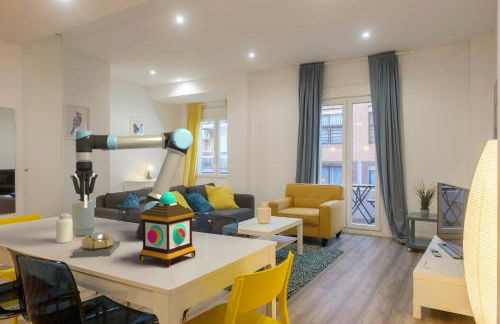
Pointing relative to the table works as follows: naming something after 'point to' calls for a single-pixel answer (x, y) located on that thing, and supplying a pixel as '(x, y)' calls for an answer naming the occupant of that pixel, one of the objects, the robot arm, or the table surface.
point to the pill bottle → (64, 229)
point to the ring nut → (97, 242)
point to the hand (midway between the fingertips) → (84, 207)
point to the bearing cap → (97, 251)
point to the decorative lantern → (167, 230)
